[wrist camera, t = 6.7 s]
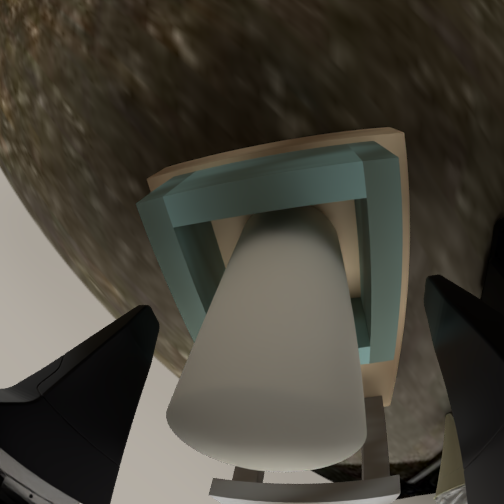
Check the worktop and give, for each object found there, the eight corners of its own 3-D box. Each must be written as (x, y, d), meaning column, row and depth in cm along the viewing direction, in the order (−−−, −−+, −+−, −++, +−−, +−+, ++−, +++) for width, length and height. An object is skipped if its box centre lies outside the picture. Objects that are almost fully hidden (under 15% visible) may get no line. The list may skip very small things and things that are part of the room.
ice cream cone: (436, 431, 21) (447, 561, 8) (414, 420, 20) (424, 571, 7) (478, 407, 19) (502, 541, 6) (461, 393, 18) (488, 551, 5)
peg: (333, 193, 11) (375, 378, 4) (343, 284, 12) (360, 468, 5) (228, 210, 12) (131, 380, 5) (252, 294, 13) (205, 466, 6)
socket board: (389, 126, 11) (548, 211, 2) (386, 382, 18) (398, 507, 10) (166, 167, 13) (7, 282, 5) (249, 392, 20) (222, 510, 12)
